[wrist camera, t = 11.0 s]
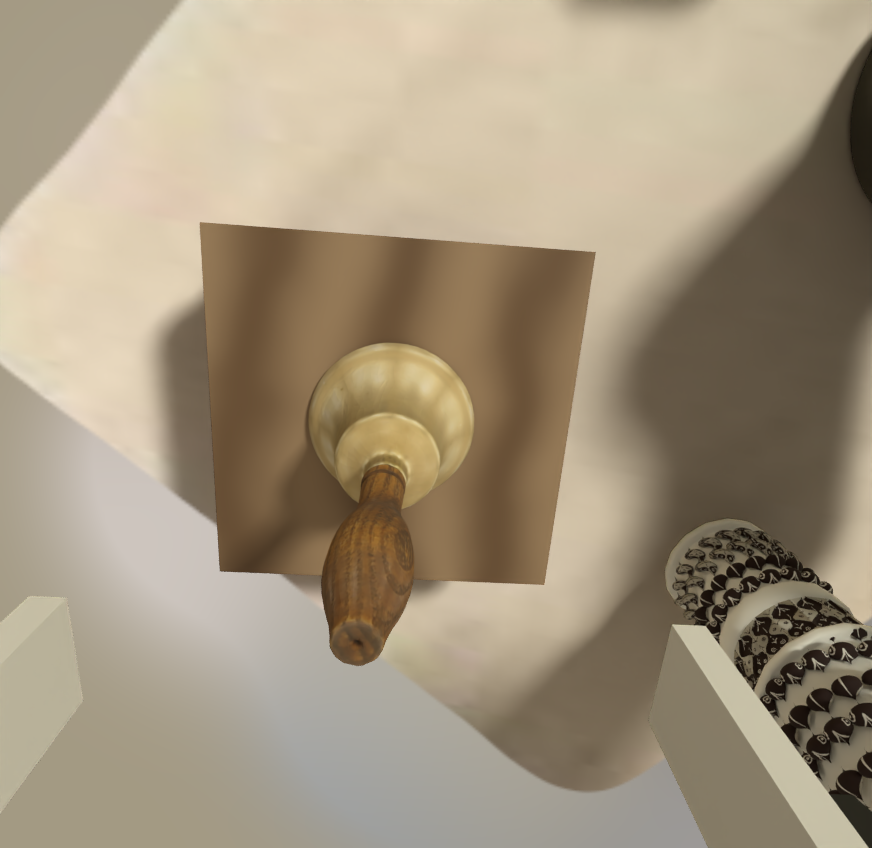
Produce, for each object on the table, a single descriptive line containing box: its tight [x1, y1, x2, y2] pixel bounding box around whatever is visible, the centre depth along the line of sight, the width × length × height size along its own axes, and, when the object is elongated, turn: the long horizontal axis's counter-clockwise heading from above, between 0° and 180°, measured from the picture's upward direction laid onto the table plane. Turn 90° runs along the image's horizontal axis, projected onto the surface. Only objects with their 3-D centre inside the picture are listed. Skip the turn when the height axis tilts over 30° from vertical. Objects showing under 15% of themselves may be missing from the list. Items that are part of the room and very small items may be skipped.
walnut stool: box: [200, 222, 596, 585], centre depth 32 cm, size 18×18×9 cm
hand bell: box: [309, 343, 474, 666], centre depth 20 cm, size 8×8×16 cm
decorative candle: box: [665, 518, 872, 811], centre depth 30 cm, size 9×9×25 cm
